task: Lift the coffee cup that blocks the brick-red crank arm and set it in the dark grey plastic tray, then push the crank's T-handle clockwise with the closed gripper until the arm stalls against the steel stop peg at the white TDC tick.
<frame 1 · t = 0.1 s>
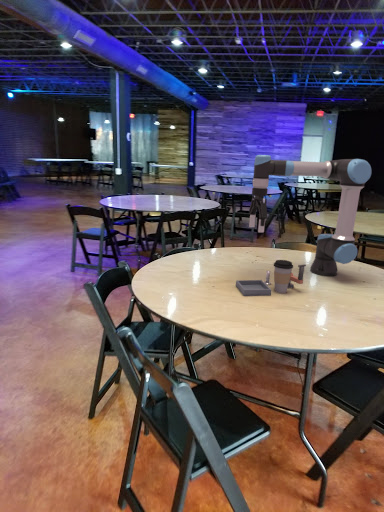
hand: (256, 229, 175), 28 cm above the table, fingers open, 13 cm apart
crank: (292, 271, 172), point 9 cm above the table, hinge at 110.0°
stop peg: (267, 283, 180), on the table
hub: (285, 285, 178), on the table
tdc tick: (258, 284, 178), on the table
coffee cup: (280, 291, 170), on the table
tray: (252, 290, 169), on the table
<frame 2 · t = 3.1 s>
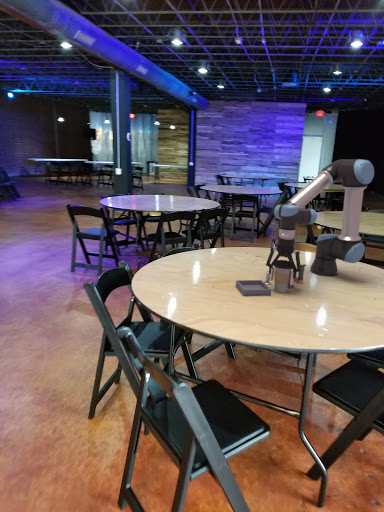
hand: (281, 282, 168), 5 cm above the table, fingers closed on coffee cup, 9 cm apart
coffee cup: (280, 291, 170), on the table, touching gripper
everything else where it was.
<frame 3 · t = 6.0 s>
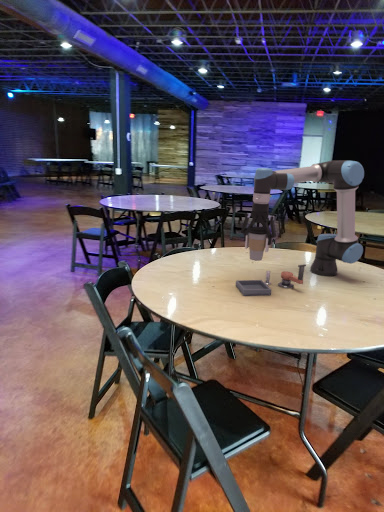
hand: (256, 249, 163), 21 cm above the table, fingers closed on coffee cup, 9 cm apart
coffee cup: (255, 259, 164), point 16 cm above the table, touching gripper
everything else where it was.
when the fingers open (8 cm above the table, at t = 8.8 s): coffee cup drops 2 cm, resting on tray.
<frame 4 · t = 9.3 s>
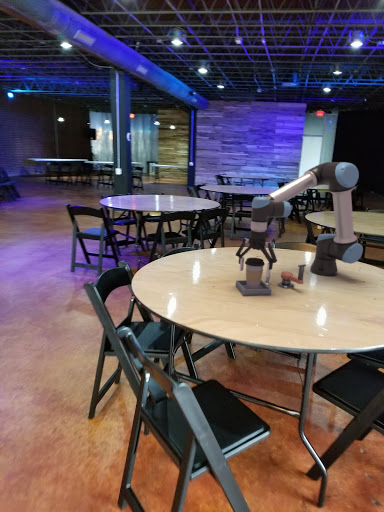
hand: (254, 273, 166), 9 cm above the table, fingers open, 13 cm apart
coffee cup: (252, 289, 169), point 1 cm above the table, touching tray
everything else where it was.
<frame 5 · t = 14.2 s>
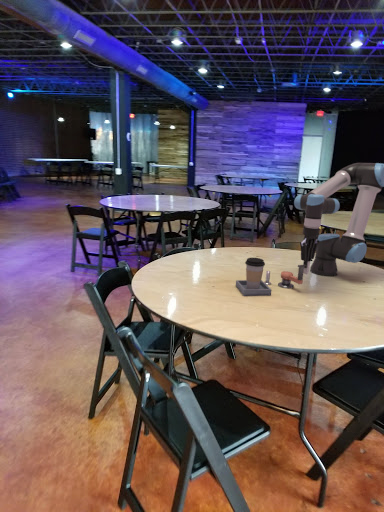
hand: (305, 273, 171), 9 cm above the table, fingers closed
crank: (292, 271, 172), point 9 cm above the table, hinge at 108.4°, touching gripper
everything else where it was.
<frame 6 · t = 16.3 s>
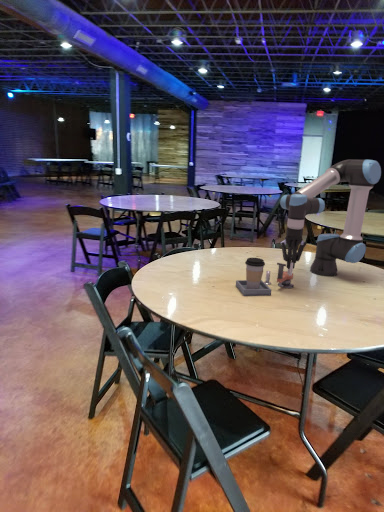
hand: (289, 274, 168), 9 cm above the table, fingers closed
crank: (284, 270, 172), point 9 cm above the table, hinge at 43.0°, touching gripper
everything else where it was.
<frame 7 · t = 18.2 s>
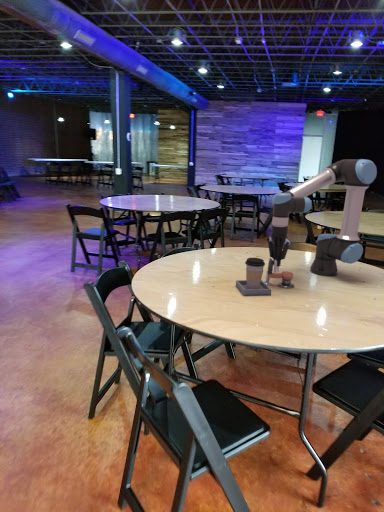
hand: (276, 272, 171), 8 cm above the table, fingers closed
crank: (280, 268, 175), point 9 cm above the table, hinge at -9.0°, touching gripper, stop peg
everything else where it was.
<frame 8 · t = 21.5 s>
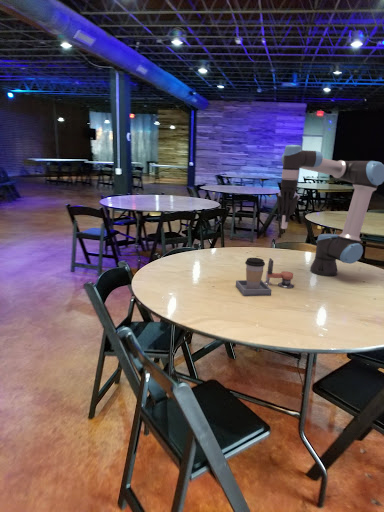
hand: (284, 228, 168), 30 cm above the table, fingers closed
crank: (280, 268, 175), point 9 cm above the table, hinge at -9.0°, touching stop peg
everything else where it was.
at the end: coffee cup inside the target area on the tray (0.2 cm from its centre), point 0.6 cm above the tray's base; coffee cup tilted 0°; crank at -9° (first picture: +110°) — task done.
